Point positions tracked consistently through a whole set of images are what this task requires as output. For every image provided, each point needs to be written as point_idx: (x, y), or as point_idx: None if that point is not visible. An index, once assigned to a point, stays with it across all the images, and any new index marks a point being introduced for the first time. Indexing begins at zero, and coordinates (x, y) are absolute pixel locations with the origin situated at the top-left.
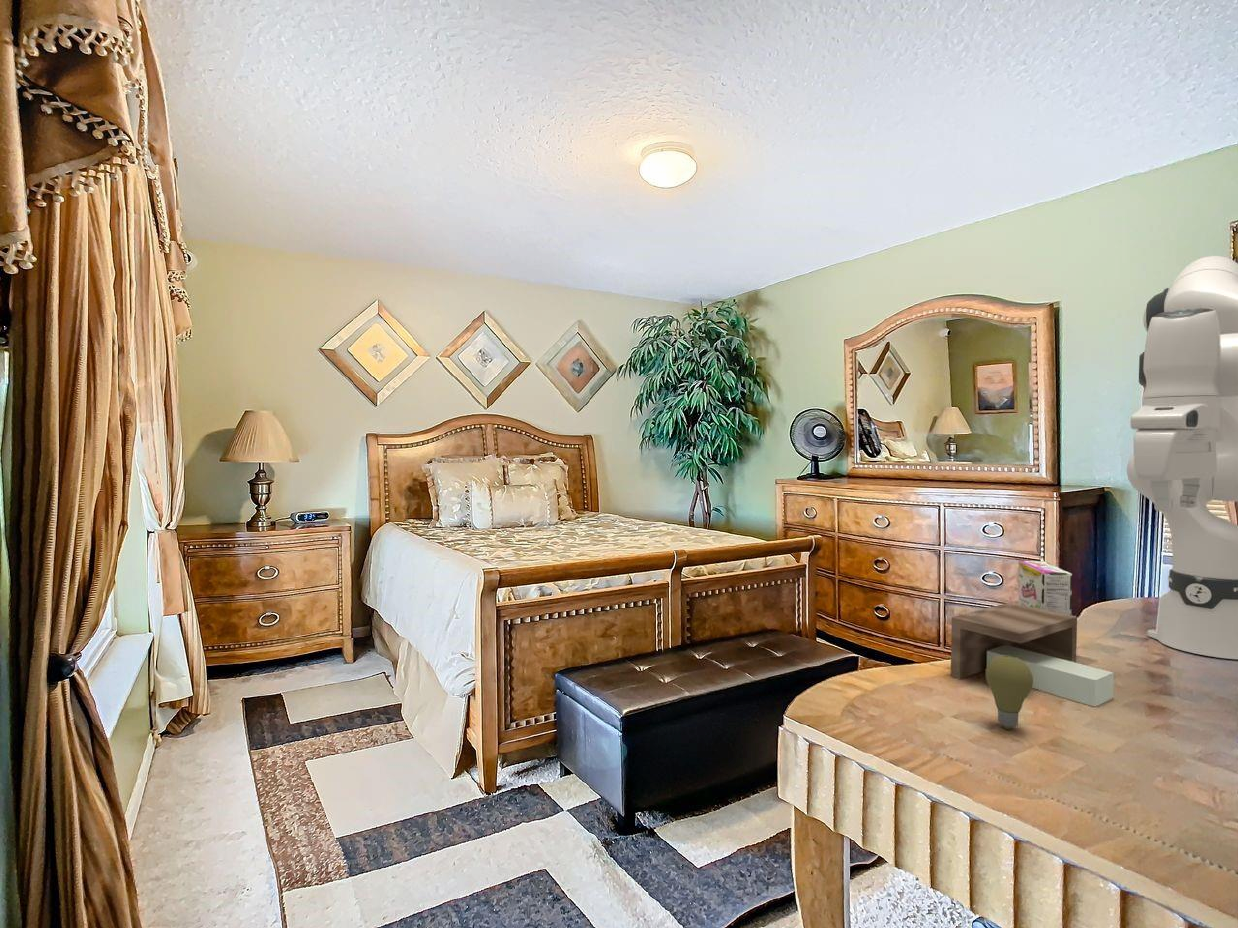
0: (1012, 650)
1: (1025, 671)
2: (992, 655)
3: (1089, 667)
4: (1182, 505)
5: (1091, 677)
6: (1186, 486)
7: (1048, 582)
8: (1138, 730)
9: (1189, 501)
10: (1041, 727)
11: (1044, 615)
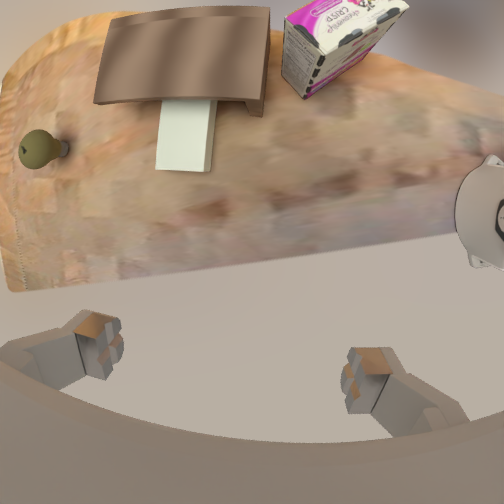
0: None
1: (26, 166)
2: None
3: (200, 146)
4: (352, 354)
5: (162, 162)
6: (421, 410)
7: (290, 32)
8: (139, 216)
9: (351, 385)
10: (83, 163)
11: (222, 66)
